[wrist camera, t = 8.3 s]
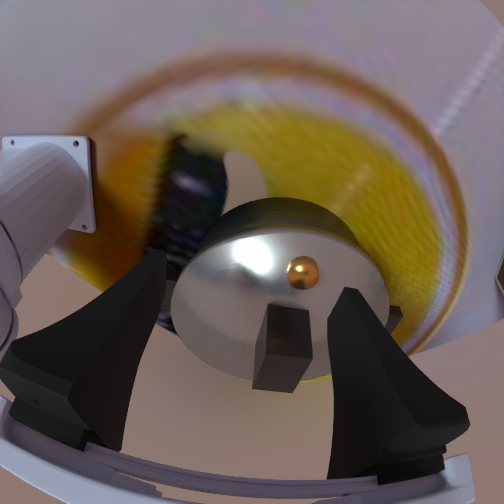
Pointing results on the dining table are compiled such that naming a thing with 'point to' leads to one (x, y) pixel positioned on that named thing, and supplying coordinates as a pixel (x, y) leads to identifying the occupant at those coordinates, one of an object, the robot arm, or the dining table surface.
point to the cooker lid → (271, 301)
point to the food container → (500, 274)
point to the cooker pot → (274, 213)
